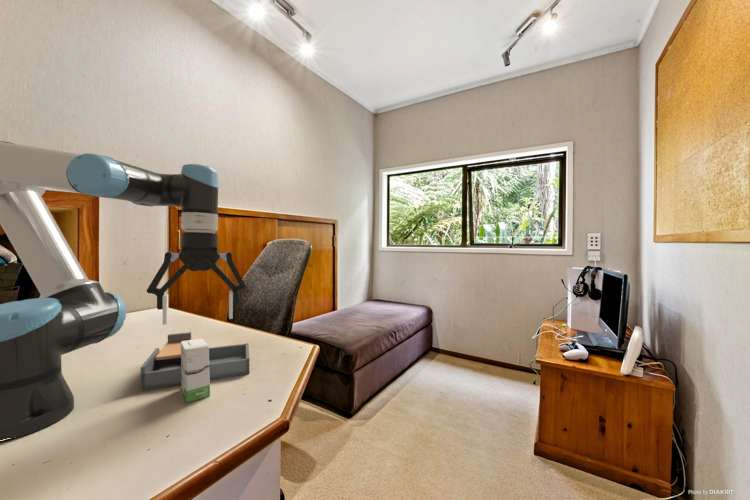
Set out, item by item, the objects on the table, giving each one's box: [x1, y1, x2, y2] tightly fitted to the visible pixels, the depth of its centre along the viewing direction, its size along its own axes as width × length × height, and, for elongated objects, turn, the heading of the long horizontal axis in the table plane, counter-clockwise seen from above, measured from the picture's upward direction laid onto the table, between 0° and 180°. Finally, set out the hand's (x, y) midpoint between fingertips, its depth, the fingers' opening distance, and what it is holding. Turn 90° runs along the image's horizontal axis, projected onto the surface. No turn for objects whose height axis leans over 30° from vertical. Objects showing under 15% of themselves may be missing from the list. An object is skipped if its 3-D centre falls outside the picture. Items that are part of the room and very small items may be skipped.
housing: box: [140, 342, 250, 391], centre depth 84 cm, size 24×14×6 cm, turn 113°
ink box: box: [181, 338, 211, 403], centre depth 72 cm, size 9×5×12 cm, turn 39°
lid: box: [155, 331, 192, 360], centre depth 88 cm, size 7×13×3 cm, turn 23°
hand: (199, 320), depth 73 cm, fingers open, 13 cm apart
